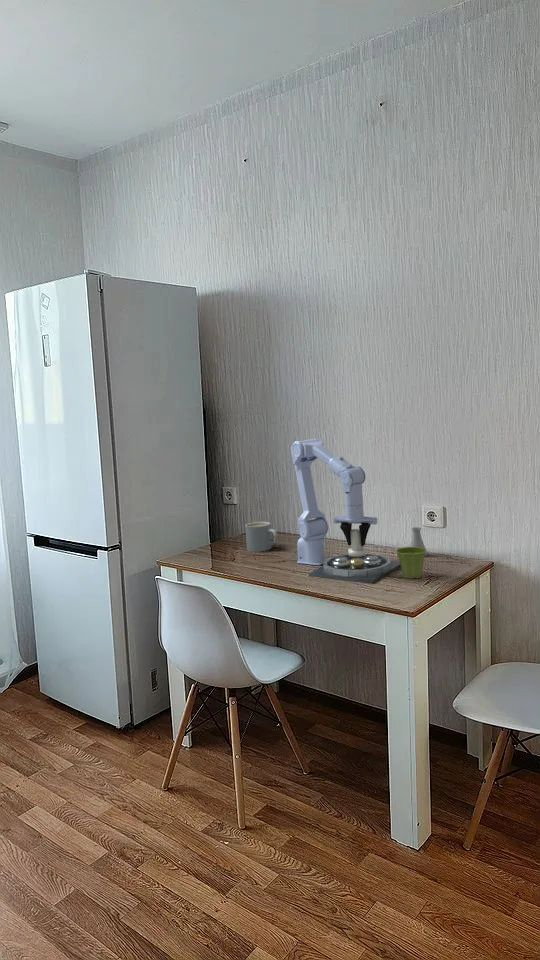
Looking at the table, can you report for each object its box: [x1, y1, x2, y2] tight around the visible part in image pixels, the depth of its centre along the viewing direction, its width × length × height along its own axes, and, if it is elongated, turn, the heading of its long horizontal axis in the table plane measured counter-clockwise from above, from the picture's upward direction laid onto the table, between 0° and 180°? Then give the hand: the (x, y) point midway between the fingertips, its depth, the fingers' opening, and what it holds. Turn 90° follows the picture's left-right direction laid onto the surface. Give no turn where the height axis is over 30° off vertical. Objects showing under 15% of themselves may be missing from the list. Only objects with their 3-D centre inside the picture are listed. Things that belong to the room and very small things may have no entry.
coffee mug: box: [244, 521, 279, 553], centre depth 270 cm, size 13×10×10 cm
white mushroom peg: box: [347, 528, 368, 556], centre depth 226 cm, size 6×6×8 cm
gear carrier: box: [308, 552, 401, 584], centre depth 232 cm, size 24×24×4 cm
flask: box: [409, 526, 429, 557], centre depth 245 cm, size 7×7×10 cm
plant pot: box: [396, 546, 427, 580], centre depth 220 cm, size 9×9×9 cm
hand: (356, 545), depth 226 cm, fingers closed on white mushroom peg, 4 cm apart
